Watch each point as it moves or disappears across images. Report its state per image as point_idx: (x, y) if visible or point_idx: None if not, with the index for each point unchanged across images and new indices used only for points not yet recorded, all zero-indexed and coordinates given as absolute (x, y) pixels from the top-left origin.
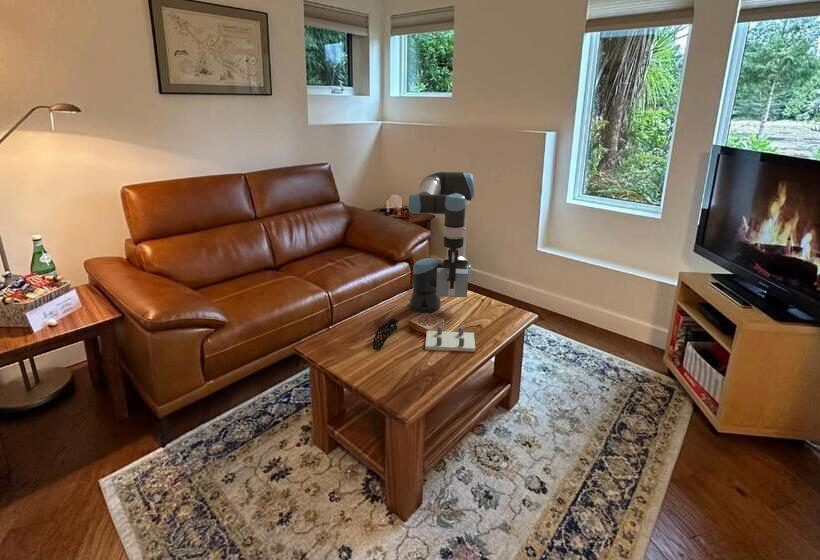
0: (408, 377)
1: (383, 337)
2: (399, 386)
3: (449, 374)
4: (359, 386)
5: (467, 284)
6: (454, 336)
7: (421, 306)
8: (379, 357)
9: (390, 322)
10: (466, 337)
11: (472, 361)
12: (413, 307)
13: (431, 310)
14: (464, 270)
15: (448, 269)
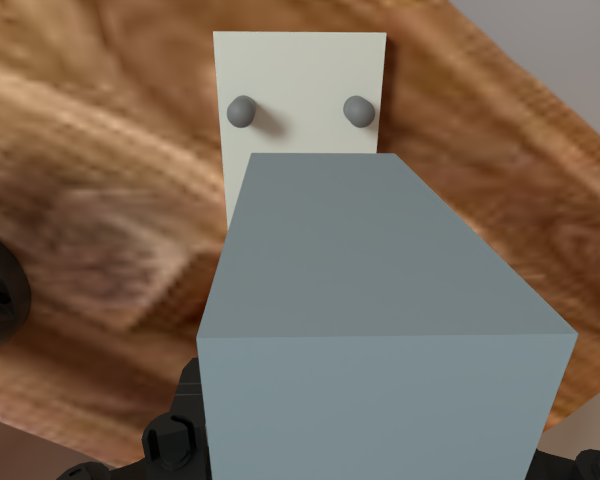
0: (549, 298)
1: None
2: (595, 319)
3: (558, 160)
4: (569, 412)
5: (453, 213)
6: (268, 142)
7: (5, 309)
8: None
9: None
10: (273, 78)
11: (470, 52)
12: (12, 334)
13: (4, 256)
14: (321, 414)
15: None
